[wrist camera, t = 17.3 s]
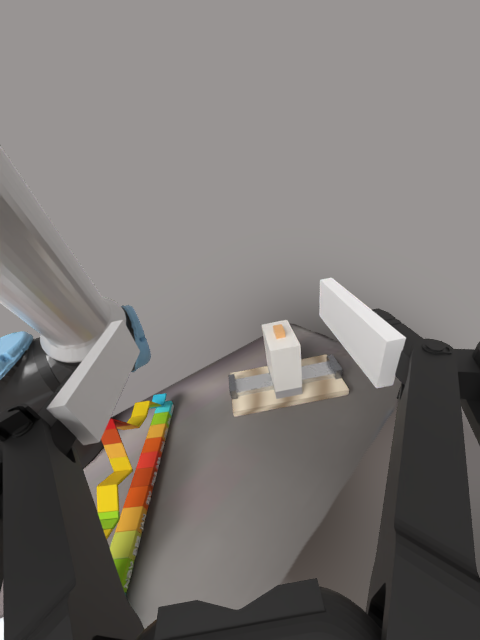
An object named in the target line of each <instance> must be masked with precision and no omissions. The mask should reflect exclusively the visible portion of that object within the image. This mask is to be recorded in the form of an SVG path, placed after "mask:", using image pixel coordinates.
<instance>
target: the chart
mask: <svg viewBox="0 0 480 640" xmlns="http://www.w3.org/2000/svg"><path fill="white" fill-rule="evenodd" d="M166 395H167V394H166V393H165V394H158V395H153V399H152V401H145V402H138V403H135V405H134V409H133V412H132V415H131V418H130V419H129V420H128V422H127V423H126V422H122V421H119V420H116V419H110V420H109V422H108V424H107V426H106V429H105V431H104V433H103V435H102V438H101V440H102V443H103V445H104V448H105V450H106V453H107V455H108V458H109V460H110V463H111V465H112V468H113V470H114V472H113V473H112V474H111V475H110V476H108V477H107V478H106V479H105V480H104V481H102V482H101V483H100V484H99V485H98V487H97V509H98V516H99V519H100V522H101V525H102V528H103V530H104V533H105V536H106V539H107V538H108V537H109V535H110V534H111V532H112V531H113V530H112V529H114V527H115V526H116V524H117V523H118V525H117V528H116V531H115V534H114V537H113V540H112V543H111V546H110V551H111V554H112V557H113V560H114V563H115V566H116V569H117V572H118V575H119V578H120V581H121V584H122V587H123V590H124V592H125V595H126V592H127V588H128V584H129V582H130V577H131V574H132V568H133V564H134V561H135V557H136V555H137V549H138V547H139V543H140V539H141V533H142V531H143V525H144V523H145V522H144V521H145V518H146V514H147V510H148V506H149V502H150V499H151V494H152V490H153V486H154V482H155V478H156V476H157V471H158V467H159V464H160V459H161V455H162V452H163V448H164V445H165V439H166V436H167V432H168V428H169V426H170V420H171V416H172V412H173V408H174V404H173V403H172V401H166V402H165V400H166ZM149 408H156V410H155V413H154V416H153V419H152V422H151V425H150V428H149V431H148V434H147V437H146V440H145V443H144V446H143V449H142V453H141V456H140V459H139V462H138V465H137V468H136V471H135V474H134V477H133V480H132V483H131V486H130V489H129V492H128V495H127V498H126V501H125V504H124V507H123V510H122V513H121V516H120V517H119V496H118V485H119V484H120V483H121V482H122V481H123V480H124V479H125V478H126V477H127V476H128V475H129V474H130V473H131V472H132V471H133V469H132V467H131V464H130V461H129V459H128V456H127V454H126V451H125V448H124V446H123V443H122V441H121V438H120V435H119V433H118V430H117V428H118V429H121V430H127V429H134V428H140V426H141V425H142V423H143V422H144V420H145V419H146V417H147V414H148V410H149ZM118 521H119V522H118Z"/></svg>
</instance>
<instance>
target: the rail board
mask: <svg viewBox="0 0 480 640" xmlns="http://www.w3.org/2000/svg"><path fill="white" fill-rule="evenodd" d="M326 359H327V355H321V356H316V357H311V358H305V359H301V366H306V365H311V364H316V363H321V362H326ZM265 373H269V371H268V366H265V367H260V368H255V369H250V370H244V371H239V372H234V373H230V375H231V374H234V375H235V379H240V378H245V377H250V376H255V375H260V374H265ZM348 393H349V389H348V387H347V386H346V384H345V382H344V381H343V379H342V378H340V379H335V378H331V379H326V380H320V381H315V382H310V383H305V384H302V394H300V395H295V396H290V397H285V398H279V399H276V395H275V391H274V390H269V391H264V392H259V393H254V394H249V395H244V396H239V397H238V399H233V400H232V405H233V414H234V417H236V416H241V415H246V414H251V413H257V412H262V411H267V410H272V409H277V408H282V407H288V406H293V405H298V404H303V403H308V402H313V401H318V400H324V399H329V398H334V397H339V396H344V395H348Z"/></svg>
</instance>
